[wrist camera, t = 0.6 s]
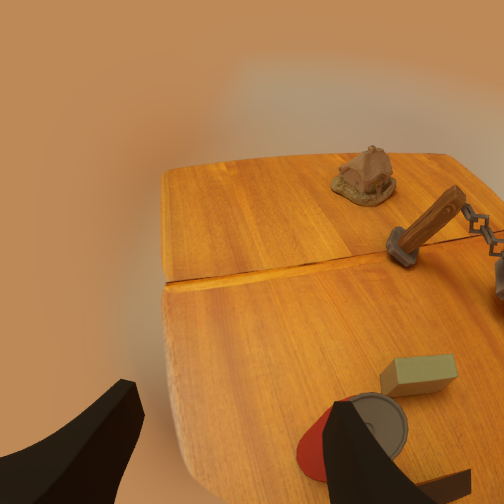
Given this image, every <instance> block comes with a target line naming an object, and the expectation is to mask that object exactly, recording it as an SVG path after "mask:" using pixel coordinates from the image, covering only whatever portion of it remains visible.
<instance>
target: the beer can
mask: <svg viewBox="0 0 504 504" xmlns="http://www.w3.org/2000/svg"><path fill="white" fill-rule="evenodd" d="M340 401H351V402H352V403H353V405H354V407H355V408H356V410H357V411H358V413H359V415H360V416H361V418H362V419H363V421H364V422H365V424H366V426H367V427H368V429H369V430H370V432H371V433H372V434H373V436H374V437H375V439H376V440H377V441H378V443H379V444H380V446H381V447H382V448H383V450H384V451H385V452H386V454H387V455H388V456H389V457H390V458H391V460H392V461H393V460H394V459H395V458H396V457H397V456H398V455H399V454H400V452H401V451H402V449H403V447H404V445H405V443H406V440H407V435H408V423H407V417H406V415H405V413H404V411H403V409H402V408H401V406H400V405H399V404H398V403H397V402H396V401H395V400H394V399H392V398H390V397H388V396H386V395H385V394H380V393H375V392H370V393H361V394H359V395H354V396H351V397H348V398H346V399H343V400H340ZM331 409H332V407H330V408H329V409H328V410H327V411H326V412H325V413H324V414H323V415H322V416H321V417H320V418H319V419H318V420H317V422H316V423H315V424H314V425H313V426H312V427H311V428H310V429H309V430H308V431H307V432H306V433H305V434H304V436H303V437H302V438H301V440H300V442H299V445H298V447H297V461H298V464H299V467H300V468H301V470H302V471H303V472H304V473H305V474H306V475H307V476H309V477H310V478H312V479H314V480H317V481H322V482H327V478H326V472H325V466H324V460H323V447H322V432H323V429H324V427H325V424H326V422H327V419H328V417H329V414H330V412H331Z"/></svg>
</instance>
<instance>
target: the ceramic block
mask: <svg viewBox="0 0 504 504" xmlns="http://www.w3.org/2000/svg"><path fill="white" fill-rule="evenodd" d="M457 377H458V373H457V368H456V364H455V360H454V356H453V354H445V355H435V356H423V357H409V358H395V359H394V360H393V361H392V362H391V363H390V364H389V366H388V367H387V368H386V369H385V370H384V371H383V372H382V373H381V374H380V381H381V391H382V394H385V395H386V396H388V397H390V398H392V397H402V396H411V395H419V394H426V393H433V392H439V391H440V390H441V389H443V388H444V387H445V386H447V385H448V384H449V383H451V382H452V381H453V380H455V379H456V378H457Z"/></svg>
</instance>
